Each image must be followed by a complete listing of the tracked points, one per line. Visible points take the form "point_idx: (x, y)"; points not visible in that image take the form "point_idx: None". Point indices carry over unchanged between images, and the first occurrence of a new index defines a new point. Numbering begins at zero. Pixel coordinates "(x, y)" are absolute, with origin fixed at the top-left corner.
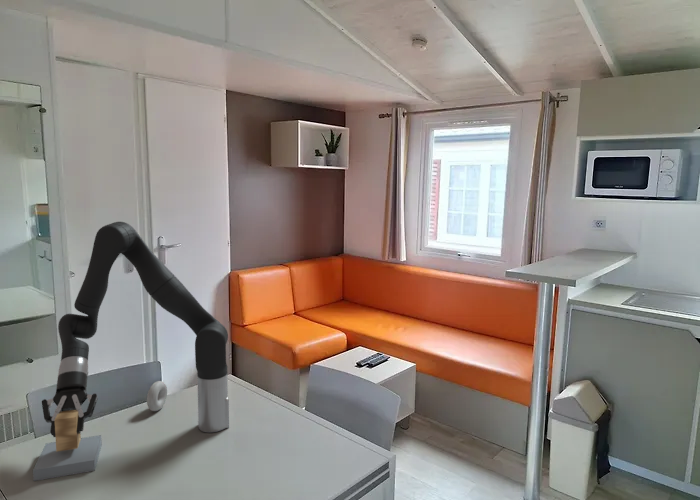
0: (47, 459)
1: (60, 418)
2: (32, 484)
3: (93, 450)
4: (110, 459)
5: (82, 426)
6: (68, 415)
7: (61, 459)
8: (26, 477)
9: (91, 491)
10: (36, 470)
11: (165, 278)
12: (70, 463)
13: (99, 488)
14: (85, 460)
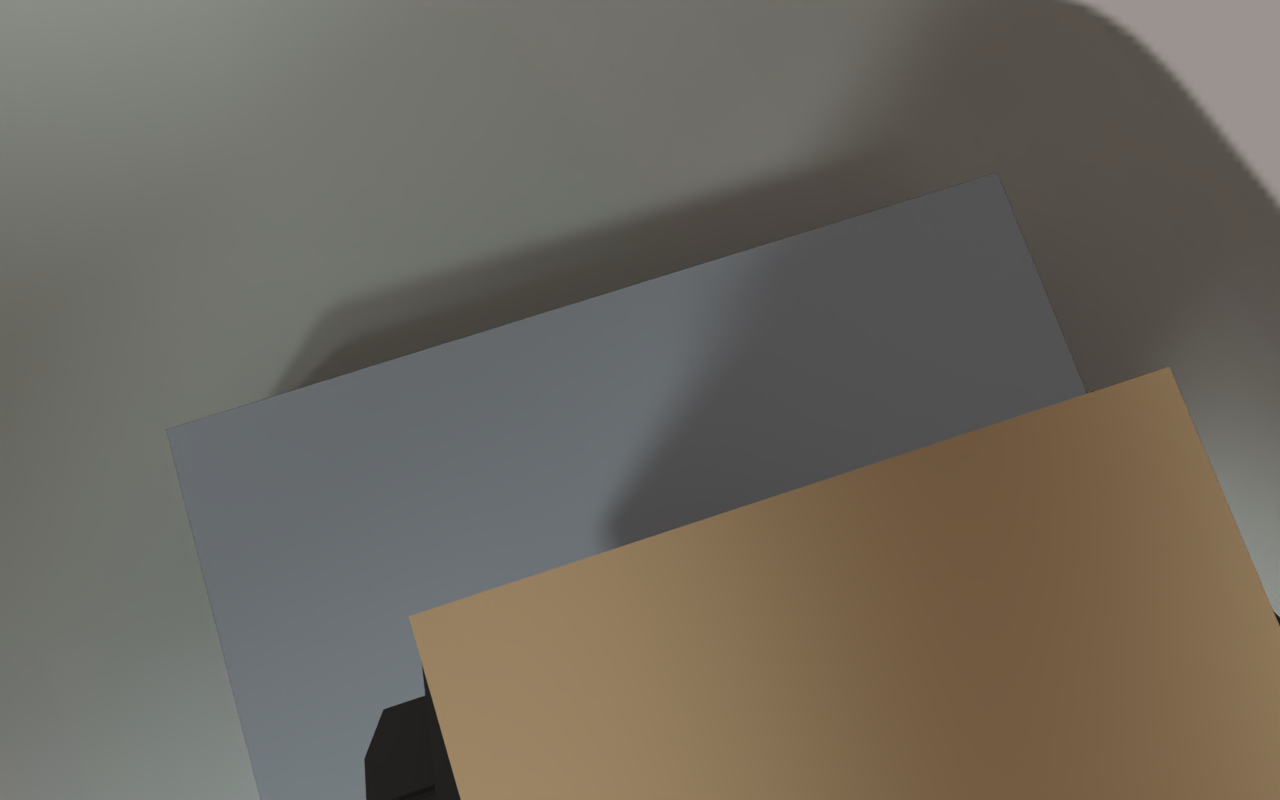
0: None
1: (1003, 489)
2: (912, 165)
3: (310, 748)
4: (109, 765)
5: (373, 785)
6: (825, 786)
7: (729, 460)
8: (1096, 319)
9: (83, 2)
10: (949, 192)
11: None
12: (515, 336)
13: (4, 57)
14: (309, 419)
